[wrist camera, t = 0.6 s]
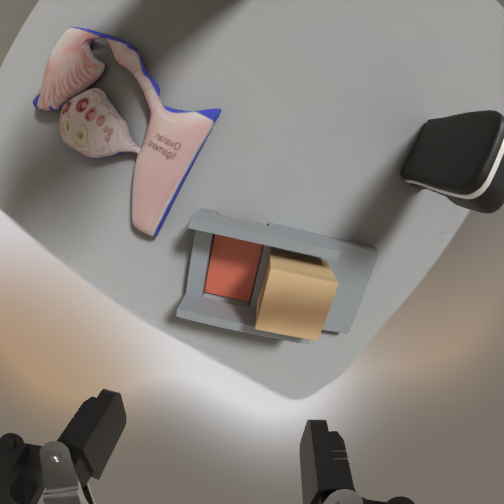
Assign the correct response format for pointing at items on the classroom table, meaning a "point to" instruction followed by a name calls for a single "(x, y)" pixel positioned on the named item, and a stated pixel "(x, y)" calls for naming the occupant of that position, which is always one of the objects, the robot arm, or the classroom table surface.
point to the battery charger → (461, 160)
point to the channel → (245, 267)
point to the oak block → (295, 295)
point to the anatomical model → (123, 123)
